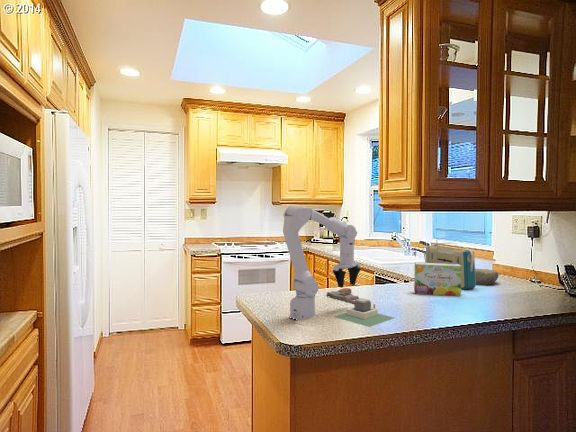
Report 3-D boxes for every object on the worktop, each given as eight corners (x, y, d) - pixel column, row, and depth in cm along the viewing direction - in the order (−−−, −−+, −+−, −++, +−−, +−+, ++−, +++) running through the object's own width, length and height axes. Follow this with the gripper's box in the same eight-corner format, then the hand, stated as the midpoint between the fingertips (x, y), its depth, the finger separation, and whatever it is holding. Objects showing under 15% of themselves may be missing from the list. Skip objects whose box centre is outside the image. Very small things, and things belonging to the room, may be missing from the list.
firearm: (389, 301, 179) (364, 305, 171) (389, 306, 179) (364, 311, 171) (346, 287, 204) (323, 290, 196) (346, 292, 204) (322, 295, 196)
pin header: (374, 314, 160) (374, 304, 160) (363, 311, 164) (363, 301, 164) (377, 313, 161) (377, 303, 161) (365, 310, 165) (365, 301, 165)
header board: (369, 329, 144) (369, 326, 144) (333, 319, 156) (333, 316, 156) (395, 320, 155) (395, 317, 155) (359, 311, 167) (359, 308, 167)
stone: (461, 282, 225) (461, 268, 225) (483, 279, 234) (483, 265, 234) (483, 287, 213) (483, 272, 212) (505, 284, 221) (506, 269, 221)
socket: (364, 319, 153) (364, 313, 153) (346, 314, 159) (346, 309, 159) (377, 314, 158) (377, 309, 158) (360, 310, 165) (360, 305, 165)
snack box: (414, 294, 198) (415, 263, 197) (414, 291, 203) (414, 261, 203) (461, 296, 193) (461, 265, 192) (459, 293, 198) (459, 263, 198)
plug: (363, 317, 155) (363, 301, 155) (354, 314, 159) (354, 299, 159) (370, 315, 158) (370, 299, 158) (361, 312, 162) (361, 297, 161)
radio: (423, 280, 232) (423, 237, 231) (433, 279, 235) (434, 236, 234) (465, 290, 205) (466, 241, 204) (476, 289, 208) (477, 241, 207)
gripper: (342, 256, 160) (342, 290, 160) (365, 252, 169) (365, 284, 170) (329, 254, 165) (329, 287, 165) (352, 251, 174) (352, 282, 175)
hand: (346, 285), depth 168 cm, fingers open, 7 cm apart
